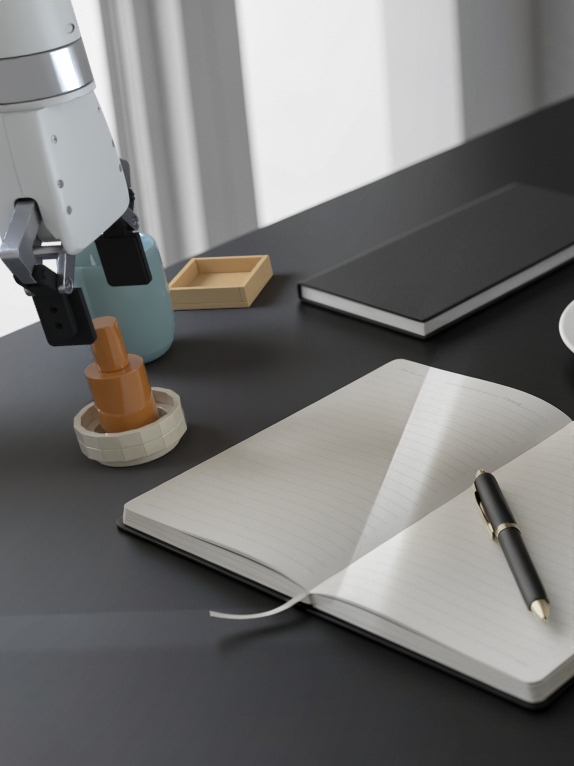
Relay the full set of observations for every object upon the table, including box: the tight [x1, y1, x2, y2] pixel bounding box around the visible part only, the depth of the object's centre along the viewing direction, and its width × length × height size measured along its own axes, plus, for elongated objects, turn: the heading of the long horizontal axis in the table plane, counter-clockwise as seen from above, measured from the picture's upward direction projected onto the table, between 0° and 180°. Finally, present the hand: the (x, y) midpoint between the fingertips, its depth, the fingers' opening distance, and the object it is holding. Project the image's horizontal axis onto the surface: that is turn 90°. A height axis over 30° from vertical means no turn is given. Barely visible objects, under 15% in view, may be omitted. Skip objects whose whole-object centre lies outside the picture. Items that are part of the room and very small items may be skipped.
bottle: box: [84, 316, 160, 433], centre depth 93 cm, size 4×4×10 cm
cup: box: [55, 230, 176, 365], centre depth 107 cm, size 8×8×10 cm
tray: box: [168, 254, 274, 311], centre depth 120 cm, size 8×8×2 cm
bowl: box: [73, 386, 188, 468], centre depth 95 cm, size 7×7×3 cm
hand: (103, 312), depth 91 cm, fingers open, 9 cm apart
